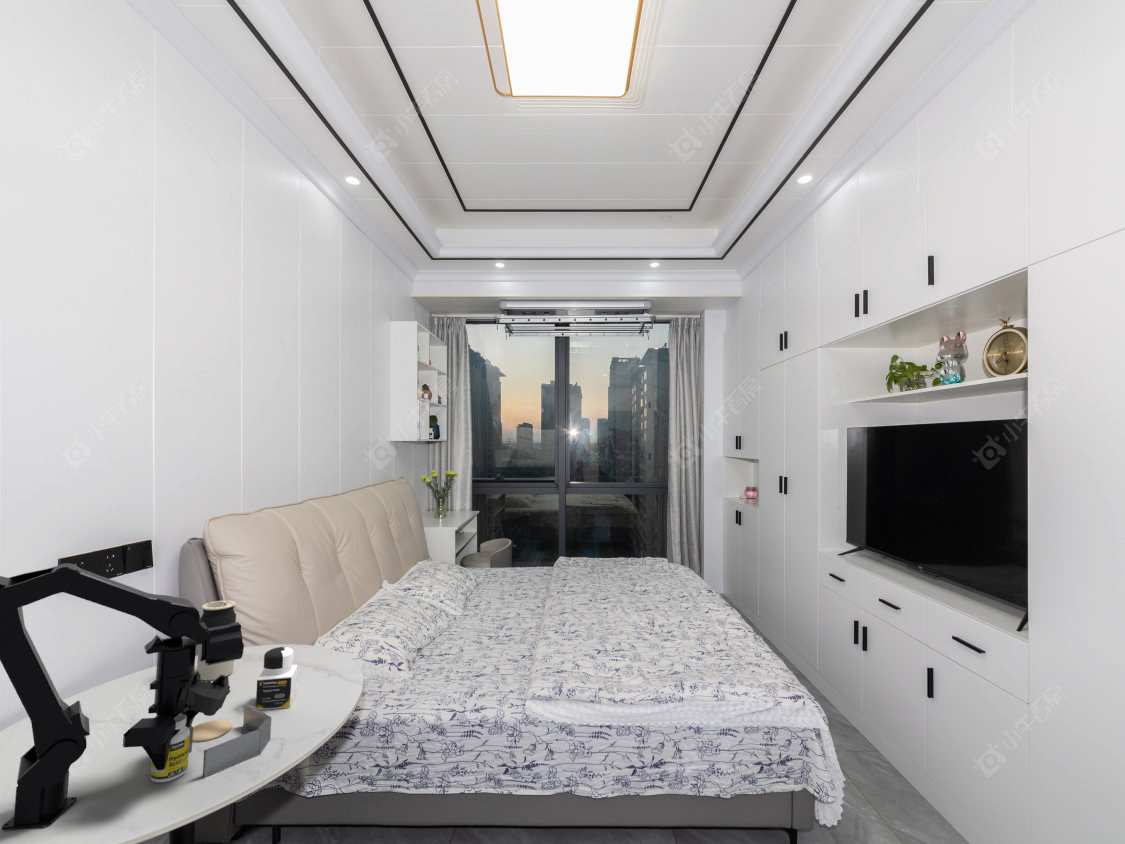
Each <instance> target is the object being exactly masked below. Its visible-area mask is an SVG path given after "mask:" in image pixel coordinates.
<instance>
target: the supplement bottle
mask: <svg viewBox="0 0 1125 844" xmlns="http://www.w3.org/2000/svg"><path fill="white" fill-rule="evenodd" d="M186 719H187V716H186V715H185V714H180V715H179V716H178V717H177V718H176V719H175V722H176V728H175V730H179V729H181V730H180V731H179V732H178V733H177V734H176V735H175V736H174V737H173V738H172V739H171V744H170V749H169V754H168V759H167V763H166V767H165V769H164V770H157V769H156V767H155V766H154V764H153V762H152V761H151V765H150V766H151V767H150V768H151V769H150V780H151V781H152V782H153V783H168V782H172V781H174V780H177V779H178V778H180V777H182V776H183V775H184V774H185V773H186V772H187V770H188V765H189V740H190V729H189V728H188V727H186V726H185V725H186Z"/></svg>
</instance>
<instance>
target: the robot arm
mask: <svg viewBox="0 0 1125 844" xmlns="http://www.w3.org/2000/svg"><path fill="white" fill-rule="evenodd" d="M61 593H63V594H64V593H65V594H68V595H70V596H75V597H77V598H79V599H82V600H86V601H88V602H91V603H95V604H97V605H101V606H103V607H106V608H110V609H112V610H115V611H118V612H121V613H124V614H127V615H130V616H132V617H135V618H137V619H139V620H141V621H142V622H144V623H145V624H146V625H148V626H150V627H151V628H153V629H154V630H157V631H158V632H159V633H161V634H163V635H164V636H167V638H162V637H160V636H159V635H155V636H154V637H153V638H152V640H150V641H149V642H148V643H147V644H145V645H144V647H143V648H144V650H145V653H146V655H152V654H156V655H157V656H156V672H155V680H153V681H152V682H150V683H149V691H150V690H151V691H152V690H153V691H154V703H153V704H152V705H150V706H149V707H148V708H147V709H148V714H156V716H155V717H147V718H145V717H144V718H141V719H139V721H137V722H136V723H134V724H133V726H131V727H130V728H129V729H128V730H126V731H125V733H124V734H123V738H122V747H123V748H138V747H141V748H142V749H143V750H144V751H145V753H146V754H147V756H148V757H149V759H150V760H151V761H150V762H151V763H152V762H153V764H154V766H155V767H156V769H157V770H164V769H165V767H166V763H167V759H168V754H169V749H170V744H171V739H172V738H173V737H174V736H175V735H176V734H177V733H178V732H179V731H180V730H181V729H179V730H175V728H176V722H175V719H176V718H177V717H178V716H179V715H180V714H185V715H186V716H187V719H186V725H185V726H186V727H188V728H189V729H190V727H191V726H192V725H193V722H194V719H195V718H196V716H197V715H198V714H199V713H201V714H203V715H204V716H207V717H211V716H214V715H216V713H217V712H218V711H219V710H220V709H221V708H222V707H223V706H224V703H225V701H226V699H227V696H228V695H229V694H230V693H231V690H230V689H231V686H230V683H229V676H224V675H220V676H219V677H218V678H217V679H216V680H208V681H205V680H201V679H200V677H201V674H199V671H197V670H196V671H195V667H196V665H195V664H196V651H197V659H198V658H199V661H204V660H205V664H206V666H209V665H213V664H218V663H223V662H227V661H232V660H234V661H236V660H240V659H242V657H243V656H244V648H245V647H244V646H245V643H244V642H243V633H242V624H241V623H239V622H238V621H236V623H231V624H228V625H224V626H219V627H213V628H207V626H206V625H205V623H204V622H200V618H201V616H200V611H199V609H197V607H196V606H195V604H194V603H193V602H192V601H191V600H189V599H186V598H182V597H179V596H178V597H176V596H171V595H167V594H166V595H165V594H155V593H150V592H146V591H143V590H140V589H138V588H135V587H133V586H129V585H127V584H124V583H121V582H118V581H116V580H113V579H111V578H108V577H106V576H105V577H104V576H103V575H102V576H101V575H99V574H96V573H94V572H92V571H88V570H86V569H83V568H80V567H79V566H78V565H77V564H74V563H61V564H58V565H55V566H52V567H48V568H45V569H44V568H43V569H40V570H39V569H38V570H34V571H31V572H30V571H29V572H25V573H22V574H21V573H20V574H17V575H13V576H9V577H7V576H0V663H1V665H2V667H3V669H4V671H5V673H6V674H7V676H8V678H9V681H10V683H11V684H12V687H13V688H14V690H15V692H16V694H17V696H18V698H19V700H20V702H21V705H22V706H23V708H24V710H25V712H26V714H27V716H28V718H29V720H30V724H31V731H32V739H33V744H34V745H33V746H32V747H30V748H29V749H28V750H27V751H26V752H25V753H24V754H23V755H22V756H20V760H19V761H20V762H19V768H18V775H17V780H16V784H17V786H16V788H15V800H14V801H15V802H14V813H13V816H12V817H11V818H10V819H8V820H7V821H6V822H5V823H3V824H2V825H1V831H2V830H3V831H5V830H7V831H8V830H17V829H30V828H40V827H47V826H50V825H52V824H53V823H54V822H55V821H56V820H57V819H58V818H59V817H60V816H61V815H63V814H64V813H65V812H66V811H67V810H68V809H70V808H71V807H72V806H73V805H74V804H75V803H77V801H78V797H77V796H68V793H69V780H70V768H71V766H72V764H74V763H75V762H76V761H79V759H80V758H81V757H82V756H83V754H84V752H85V751H86V748H87V744H88V743H87V741H88V740H87V737H88V736H90V734H91V732H90V718H89V717H88V716H86V715H85V714H84V712H83V711H82V706H81V701H80V700H77V701H76V702H74V703H73V704H71V705H69V704H67V703H66V702H65V701H63V699H62V698H61V697H60V695H59V693H58V691H57V690H58V689H56V686H55V685H54V683H53V680H52V679H51V676H50V674H49V671H47V668H46V666H45V664H44V662H43V660H42V658H41V656H40V654H39V652H38V650H37V648H36V646H35V644H34V642H33V640H32V637H31V636H30V633H29V632H28V630H27V627H26V625H25V618H24V610H23V607H24V606H27V605H30V604H33V603H36V602H38V601H41V600H43V599H47V598H49V597H51V596H53V595H57V594H61ZM183 637H186V638H183Z"/></svg>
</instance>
